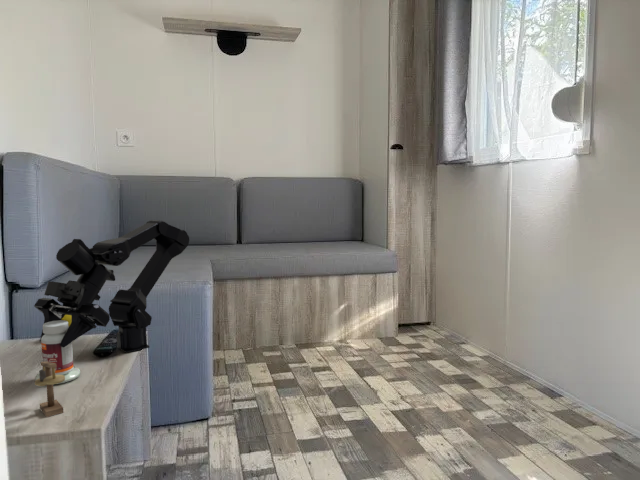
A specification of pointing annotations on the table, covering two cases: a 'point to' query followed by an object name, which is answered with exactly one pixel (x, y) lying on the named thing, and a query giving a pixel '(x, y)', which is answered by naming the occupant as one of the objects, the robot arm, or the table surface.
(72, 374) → the dish
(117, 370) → the table surface
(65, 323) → the pill bottle
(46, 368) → the balance
